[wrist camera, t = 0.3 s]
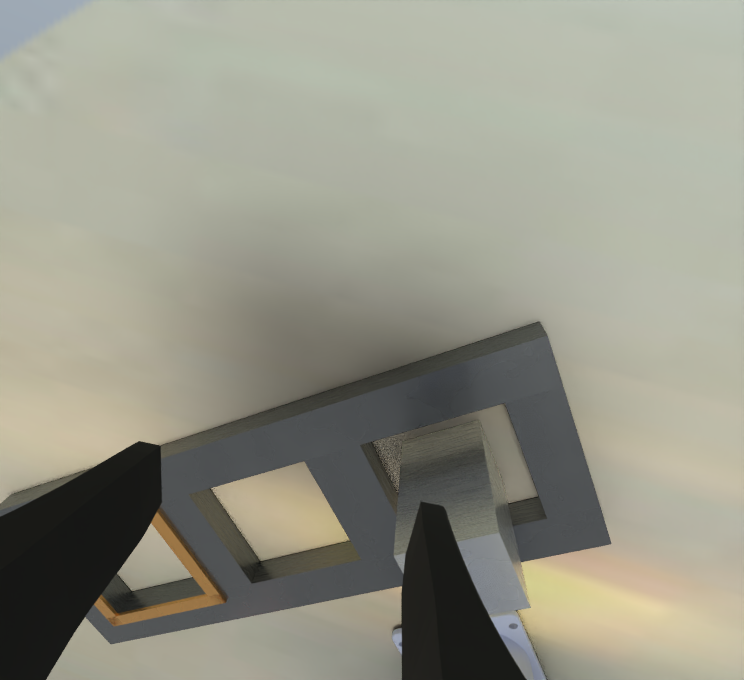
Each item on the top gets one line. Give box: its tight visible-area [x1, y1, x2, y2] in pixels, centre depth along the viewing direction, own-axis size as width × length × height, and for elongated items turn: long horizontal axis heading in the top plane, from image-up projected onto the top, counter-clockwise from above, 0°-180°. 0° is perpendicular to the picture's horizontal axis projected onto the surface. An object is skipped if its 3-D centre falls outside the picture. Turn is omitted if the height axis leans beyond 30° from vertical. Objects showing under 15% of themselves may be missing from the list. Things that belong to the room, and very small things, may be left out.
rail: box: [0, 322, 611, 644], centre depth 26 cm, size 12×32×2 cm, turn 113°
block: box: [394, 420, 531, 615], centre depth 21 cm, size 4×4×7 cm
